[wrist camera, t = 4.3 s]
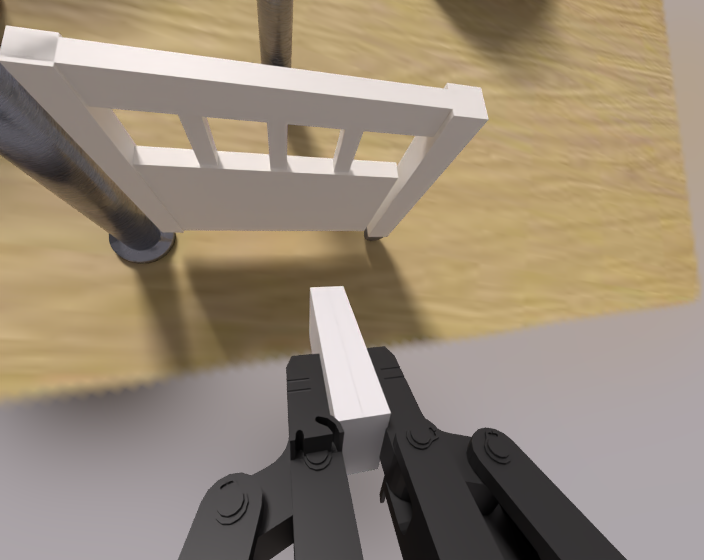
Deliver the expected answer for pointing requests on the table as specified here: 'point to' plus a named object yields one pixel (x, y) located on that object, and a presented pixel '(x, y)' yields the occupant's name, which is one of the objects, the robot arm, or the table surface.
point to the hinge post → (73, 174)
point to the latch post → (275, 31)
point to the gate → (250, 105)
